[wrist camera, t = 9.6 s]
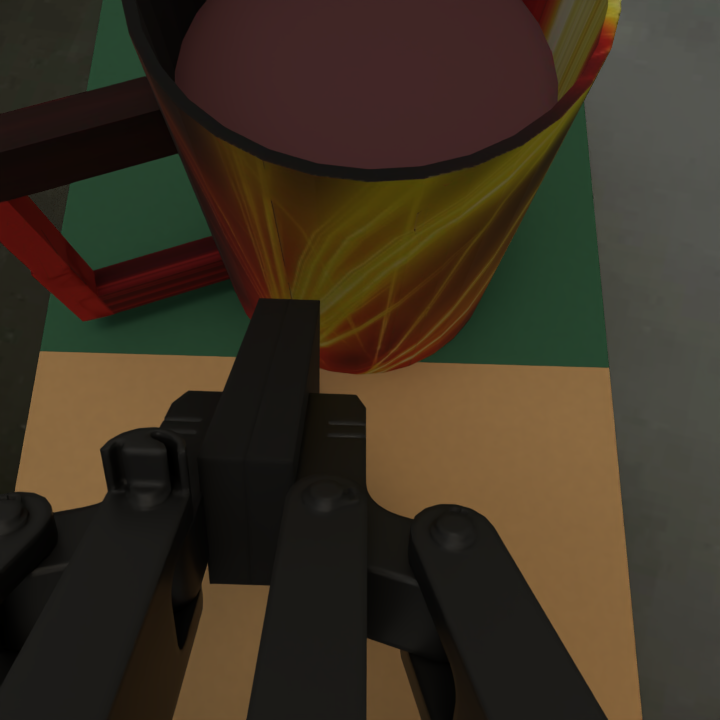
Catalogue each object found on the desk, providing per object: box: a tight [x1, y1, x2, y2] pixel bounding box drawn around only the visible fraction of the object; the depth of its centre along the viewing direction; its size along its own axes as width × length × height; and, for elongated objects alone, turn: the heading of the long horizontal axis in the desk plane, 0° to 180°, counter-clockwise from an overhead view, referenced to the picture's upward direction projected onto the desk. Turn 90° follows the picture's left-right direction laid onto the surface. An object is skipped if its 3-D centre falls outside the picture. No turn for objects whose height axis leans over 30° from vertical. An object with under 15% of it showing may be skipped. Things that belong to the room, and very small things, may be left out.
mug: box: [0, 0, 621, 375], centre depth 18 cm, size 10×14×12 cm
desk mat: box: [15, 0, 642, 720], centre depth 23 cm, size 20×32×1 cm, turn 179°
